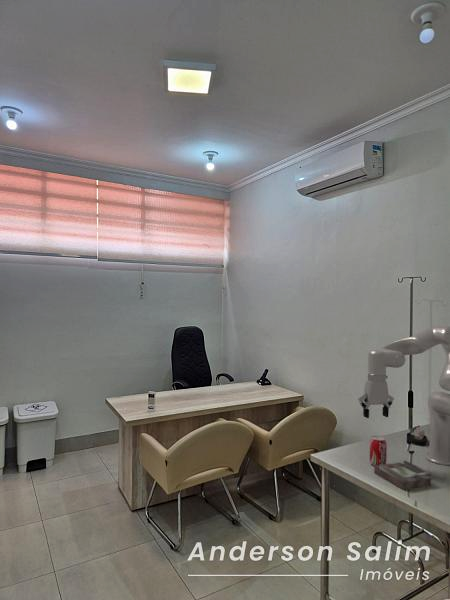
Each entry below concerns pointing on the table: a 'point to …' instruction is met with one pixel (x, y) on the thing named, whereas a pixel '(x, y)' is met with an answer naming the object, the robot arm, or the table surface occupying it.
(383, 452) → the soda can
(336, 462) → the table surface
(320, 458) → the table surface
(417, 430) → the caster wheel
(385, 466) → the frame
